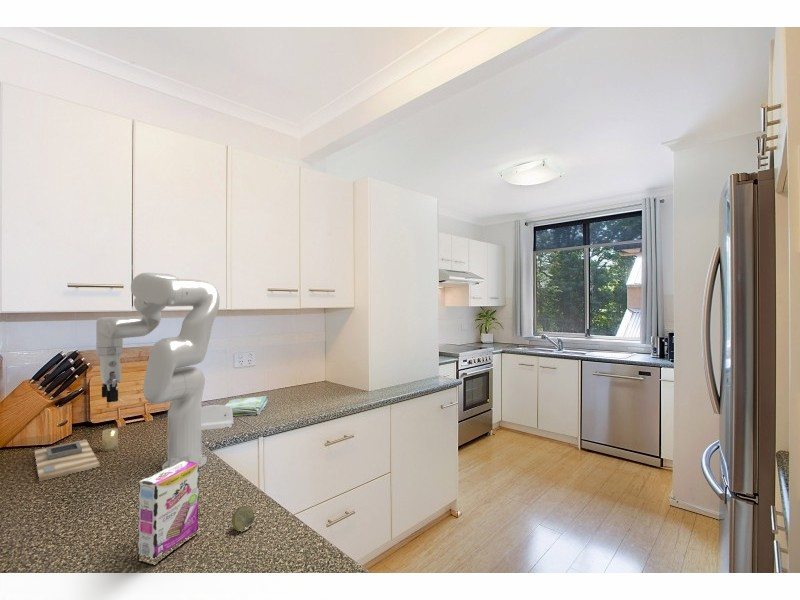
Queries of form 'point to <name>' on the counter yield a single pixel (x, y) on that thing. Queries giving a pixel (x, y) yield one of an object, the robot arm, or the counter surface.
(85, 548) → the counter surface
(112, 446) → the hinge barrel
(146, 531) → the candy bar box
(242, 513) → the lime
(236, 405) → the towel
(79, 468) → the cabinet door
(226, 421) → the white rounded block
